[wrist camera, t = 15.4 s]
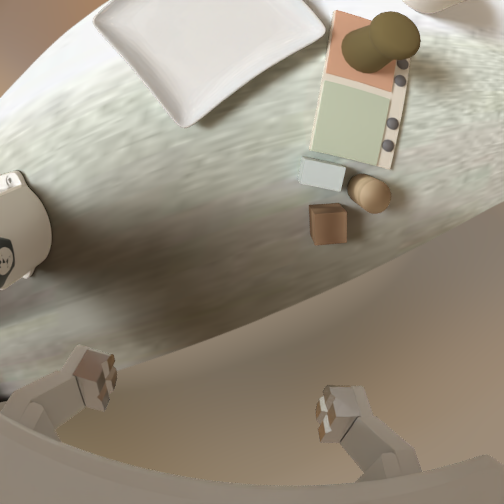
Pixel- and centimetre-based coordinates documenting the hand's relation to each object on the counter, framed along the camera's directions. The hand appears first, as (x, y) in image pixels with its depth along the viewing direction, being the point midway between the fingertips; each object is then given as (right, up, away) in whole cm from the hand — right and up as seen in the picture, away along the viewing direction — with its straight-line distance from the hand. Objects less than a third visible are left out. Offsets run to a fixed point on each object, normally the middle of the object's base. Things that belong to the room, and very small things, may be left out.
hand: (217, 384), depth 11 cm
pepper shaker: (+15, +29, +20) cm, 38 cm away
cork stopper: (+16, +13, +28) cm, 35 cm away
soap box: (+10, +15, +27) cm, 33 cm away
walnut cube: (+11, +9, +30) cm, 33 cm away
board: (+15, +25, +23) cm, 37 cm away
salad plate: (-4, +33, +20) cm, 39 cm away
